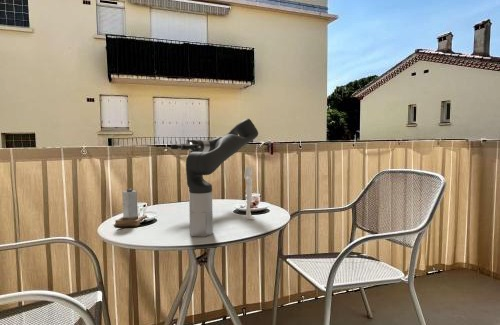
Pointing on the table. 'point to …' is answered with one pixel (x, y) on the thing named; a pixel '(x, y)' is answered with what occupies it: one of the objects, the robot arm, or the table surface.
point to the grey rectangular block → (130, 205)
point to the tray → (129, 221)
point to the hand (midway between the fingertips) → (176, 147)
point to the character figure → (248, 191)
